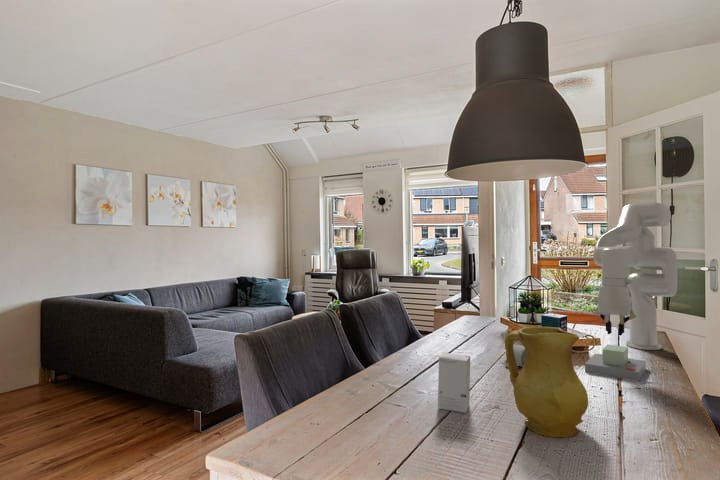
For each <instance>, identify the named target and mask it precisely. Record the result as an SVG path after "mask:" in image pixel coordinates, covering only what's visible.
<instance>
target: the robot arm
mask: <svg viewBox="0 0 720 480" xmlns="http://www.w3.org/2000/svg"><path fill="white" fill-rule="evenodd" d="M671 219H672V213H671V210H670V208H669V206H668V205H665V204H664V203H661V202H657V201H656V202H638V203H636V202H635V203H629V204H626V205H624V206H623V207H622V208H621V209H620V214H619V217H618V219H617V223H616V226H615V227H614V228H612V229H610V230H609V231H607V232H605V233H604V234H602V235H601V236H600V237H599V238H598V240H597V242H596V244H595V247H594V249H593V253H592V258H593V262H594V264H595V265H597V266H599V267H601V285H600V286H599V290H598V298H597V307H596V308H595V311H594V312H593V313H594V315H595V316H597V317H599V318H601V320H603V321H604V323H605V332H607V335H611V334H612V321H611V315H613V316H618V318H619V323H618V326H617V327H618V331H617V332H618V336H620V337H621V336H622V335H623V334H625V324H626V323H627V322H629V335H630V336H629V339H630V340H627V341H626V342H625V345H626V347H628V348H629V347H630V348H633V349H637V350H645V351H657V350H661V349H662V345H661V344H660V343H658V331H657V330H658V327H657V326H658V325H657V324H658V323H657V322H658V321H657V320H658V319H657V306H656V303H655V302H654V300H653V299H652V298H651V297H666V298H669V297H671V298H672V297H674V296H676V294H677V292H678V260H677V258H678V257H677V254H676V251H675V250H674V249H673V248H671V247H656V246H655V235H654V233H653V232H652V230H651V229H650V227H651V228H652V227H654V228H655V227H667V226H668V225H669V224H670V222H671ZM648 227H649V228H648ZM627 243H630V246H620V245H624V244H627ZM628 268H634V269H636V270H644V271H645V270H646V271H661V272H662V273H656V272H655V273H652V272H634V273H631V274H629V275H628V276H627V274H628V273H627V269H628Z"/></svg>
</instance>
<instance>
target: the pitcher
mask: <svg viewBox="0 0 720 480" xmlns="http://www.w3.org/2000/svg"><path fill="white" fill-rule="evenodd" d="M579 339H580V336H579V335H578V334H577V333H573V332H571V331H570V332H568V331H566V330H563V329H562V328H561V327H557V326H556V327H553V326H537V325H536V326H528V327H525V326H524V327H521V328H519V329H516V330H513V331H511V332H510V333H508V334H507V335H506V336H505V339H504V348H505V351H506V352H505V355H506V357H505V358H506V359H507V363H508V366H509V368H508V371H509V377H510V379H509V380H510V383H511V385H512V386H513V396H514V401H515V406H516V408H517V410H518V411H519V413H520V414H522V415H523V416H524V417H525V418H526V419H525V420H524V421H525V422H524V421H523V422H524V424H525V423H526V425H525V427H526V426H527V427H528V428H527V427H526V428H527V429H528V430H532V431H531V432H533V431H534V432H535V433H534V432H533V433H534V434H536V433H537V434H536V435H541V436H543V435H544V436H543V437H550V438H551V437H552V438H571V437H575V436H577V435H579V433H580V431H579V430H578V427H577V426H578V425H580V424H582V423H583V422H584V421H583V420H582V417H583V415H585V414H586V411H587V410H588V406H589V398H588V397H589V396H588V392H587V389H586V387H585V385H584V384H583V382H582V381H581V379H580V378H579V376H578V374H577V372H576V370H575V367H574V365H573V358H572V356H573V355H572V354H573V353H572V351H573V346H574V344H575V343H576V342H577V341H578V340H579ZM515 340H518V341H520V343H521V345H522V346H524V347H525V351H526V356H525V362H524V365H523V367H521V370H520V371H519V366H518V367H517V363H516V359H515V355H514V350H513V345H514V341H515ZM526 420H528V421H526Z"/></svg>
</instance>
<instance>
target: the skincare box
mask: <svg viewBox="0 0 720 480" xmlns="http://www.w3.org/2000/svg"><path fill="white" fill-rule="evenodd" d="M437 381H438V385H437V386H438V387H437V388H438V389H437V393H438V394H437V409H438V410H444V411H445V410H447V411H452V412H459V413H463V414H464V413H465V414H466V413H467V411H468V409H469V408H470V400H471V399H470V393H471V391H470V390H471V388H470V387H471V386H470V385H471V384H470V383H471V356H470V355H465V354H459V353H449V352H443V353H441V355H439V357H438V380H437Z"/></svg>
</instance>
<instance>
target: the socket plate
mask: <svg viewBox="0 0 720 480" xmlns="http://www.w3.org/2000/svg"><path fill="white" fill-rule="evenodd" d="M646 363H647V362H646V360H642V359H636V358H635V359H634V358H630V357H628V363H626V365H625V366H624V367H622V366H614V365H610V364H604V363H603V353H601V354H600V353H594V354H593V356H591V357H590V358H589V359H588V360H587V361H586V362H585V363H584V372H585V373H589V374H596V375H599V376H607V377H612V378H618V379H623V380H627V381H635V382H639V381H640V380H641V379H642V376H643V375H644V373H645V371H646V370H647V369H646V368H647V365H646Z"/></svg>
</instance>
